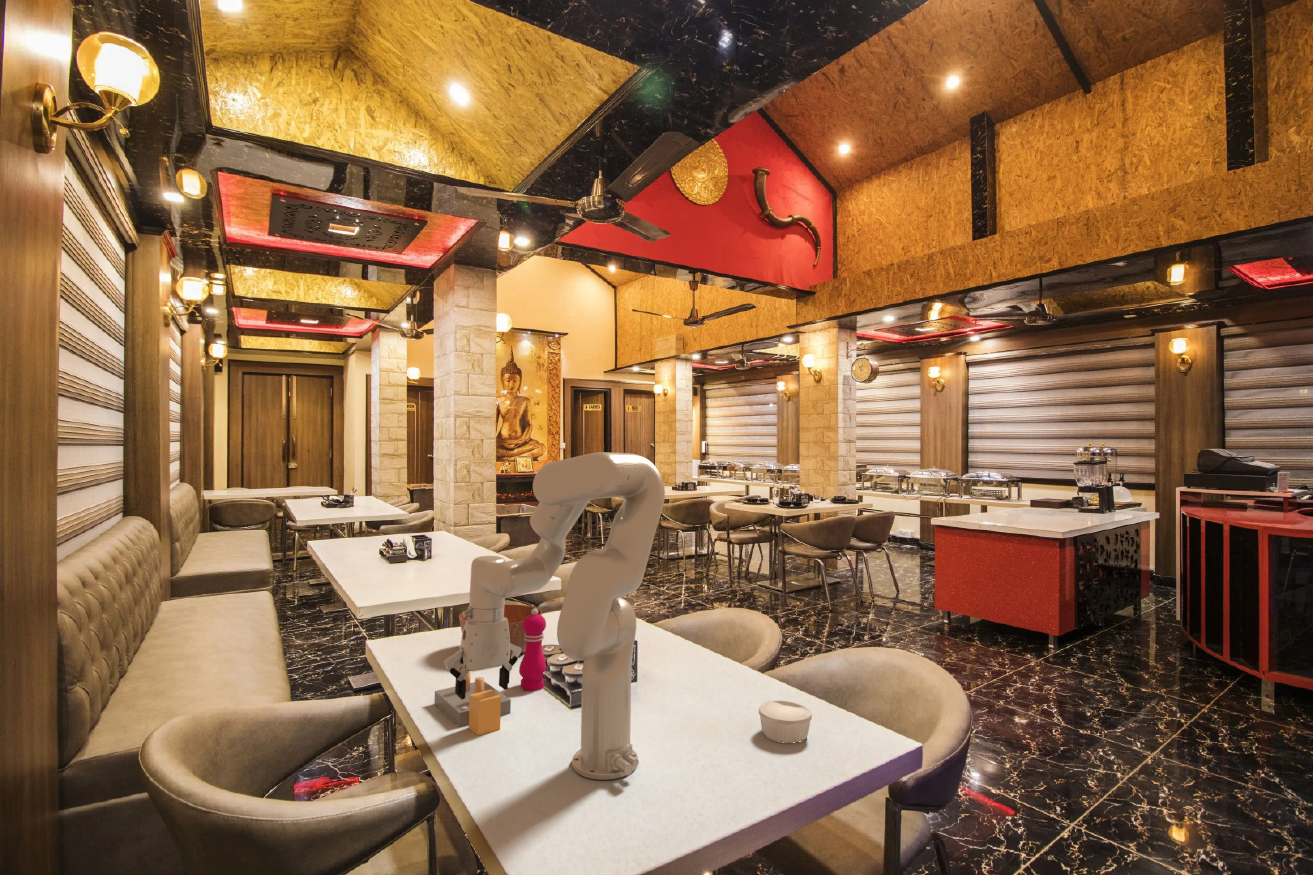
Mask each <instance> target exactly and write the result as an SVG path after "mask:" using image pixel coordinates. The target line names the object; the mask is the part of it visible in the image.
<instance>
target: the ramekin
mask: <svg viewBox="0 0 1313 875" xmlns="http://www.w3.org/2000/svg"><path fill="white" fill-rule="evenodd" d="M758 714H759V717H760V718H759V719H760V727H761V731H762V732H763V734H764V735H765V737H766V738H767V739H769V738H770V739H769V740H771V739H772V740H771V741H773V740H775V741H774V742H776V741H779V742H778V743H780V742H784V743H783V744H787V743H793V742H799V741H802V740H803V741H805V740H806V739H807V737H808V734H809V731H810V730H809V729H810V724H811V720H812V718H813V716H812V715H813V713H812V711H811V709H809V708H808V707H807V706H805V705H803V704H800V703H797V702H793V701H788V700H780V699H779V700H778V699H777V700H770V701H766V702H763V703H761V704H760V705H759V706H758ZM804 739H805V740H804ZM803 741H802V742H803ZM799 743H800V742H799Z"/></svg>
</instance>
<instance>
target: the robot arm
mask: <svg viewBox="0 0 1313 875" xmlns="http://www.w3.org/2000/svg"><path fill="white" fill-rule="evenodd" d="M532 490H533V491H532V492H533V495H534V497H535V498H536V500H537V501H538V502H539V503H538V505H537V506H536V508H535V509H534V510H533V512H532V513H531V516H530V517H529V523H530V526H531V528H532V529H533V531H534V532H535V533H536V534H537V535H538V536H539V537H540V540H539V541H538V544H537V545H536V547H535V548H534V550H533V552H531V554H530V555H529V556H528V557H523V558H517V559H512V560H508V561H507V560H506V559H505V558H504V557H501V556H497V555H483V556H478V557H475V558H474V559H473V560H472V562H471V568H470V582H469V584H470V586H469V587H470V588H469V602H468V604H469V605H468V607H467V609H466V610H463V611H462V612H463V617H467V618H468V619H469V620H466V622H465V625H464V629H463V633H462V632H461V634H462V635H461V640H460V647H459V649H458V650H457V651H456V652H454V653H453V654H452V655H450V656H448V657H447V658H445V659H444V660H443V663H444V665H445V667H446V669H447V671H448V673H449V674H451V675H452V676H453V677H454V678H455V684H454V685H455V686H454V687H455V693H456V695H457V696H458V697H459V698H460V699H464V698H465V694H466V680H465V679H464V678H465V676H466V675H467V674H468V672H469V671H471V672H477V671H483V670H487V669H492V668H498V667H500V668H499V672H498V673H499V674H498V675H499V677H498V686H499V687H500V688H501V689H503V690H504V691H505V690H508V688H509V687H508V686H509V684H510V675H511V671H512V670H513V667H514V665H515V664H516V663H517V662H518V658H519V657H520V655H521V654H520V653H521V650H522V648H521V647H519V646H517V645H514V644H512V643H510V634H509V625H508V619H507V618H505V617H504V606H505V605H506V604H505V603H506V599H509V598H514V597H517V596H521V595H524V594H527V593H532V592H535V591H539V590H540V589H542V588H544V587H545V586H546V585H547V584H548V583H549V582H550V581H551V579H552V578H553V576H554V575H555V574H556V573H557V571H558V569H559V567H560V566H561V564H562V562H563V561H564V557H565V555H566V554H565V553H566V547H567V546H566V545H567V542H566V538H567V536H568V535H569V533H570V532H571V530H572V529H573V527H574V526H575V524H576V523H577V521H578V519H579V518H580V516H581V515H582V514H583V512H584V511H585V509H586V508H587V506H588V504H589V503H590V502H591V501H593V500H598V499H610V498H623V501H622V504H621V505H620V507H619V509H618V510H617V512H616V514H615V515H614V518H613V520H612V523H611V528H610V532H609V533H608V538H607V541H606V543H605V545H604V546H603V548H600V549H595V550H591V551H589V552H587V553H584V555H582V556H581V557H580V558H579V559H578V561H577V562H576V563H575V565H574V567H573V568H572V570H571V573H570V576H569V580H568V583H567V587H566V590H565V594H564V598H563V602H562V604H561V605H562V606H561V608H560V613H559V617H558V621H557V626H556V636H557V642H558V646H559V647H560V649H561V650H560V651H562V653H563V654H564V655H565V656H566V657H567V658H569V659H570V660H574V661H583V664H582V673H581V674H582V675H581V677H582V678H581V710H580V711H581V712H580V713H581V717H580V718H581V719H580V720H581V721H580V722H581V723H580V749H579V750H578V751H575V753H574V754H573V755H572V756H573V757H572V758H571V759H572V761H571V762H572V763H571V764H572V768H573V770H574V771H575V772H576V773H577V774H579V775H580V776H581V777H584V778H587V779H591V780H598V781H599V780H600V781H607V780H608V781H609V780H615V779H620V778H623V777H625V776H630V775H631V774H632V772H633V771H634V770H636V768H637V767H638V766H639V763H640V761H639V756H638V753H637V752H636V751H635V750H634V749H633V744H632V743H631V712H632V711H631V710H632V709H631V708H632V706H631V705H632V667H633V666H632V662H633V652H634V646H635V640H636V633H637V617H636V615H637V614H636V612H635V610H634V608H633V606H632V605H631V604H630V602H629V601H627V600H626V599H625V598H623V597H625V596H627V595H629V594H632V593H634V592H635V591H637V590H638V588H639V587H640V586H641V585H642V582H643V579H644V577H645V573H646V568H647V565H648V561H649V558H650V555H651V551H652V546H653V543H654V539H655V534H656V532H657V527H658V524H659V522H660V519H661V515H662V513H663V512H662V511H663V508H664V504H665V499H666V497H665V496H666V495H665V493H666V491H665V483H664V480H663V477H662V474H661V472H660V471H659V469H658V468H657V467H656V465H655V464H654V463H653V462H652V461H650V460H649V459H648V458H646V457H644V456H643V455H639V454H635V453H632V452H631V453H627V452H606V451H605V452H604V451H601V452H591V453H587V454H582V455H578V456H577V455H576V456H573V457H569V458H565V459H561V460H555V461H549V462H548V463H546V464H544V465H543V466H541V467H540V469H538V471H537V473H536V474H535V475H534V478H533V482H532ZM510 650H512V651H513V653H512V655H511V656H510ZM457 661H459V664H460V665H459V666H458V667H457V669H456V667H455V665H454V664H455V662H457Z"/></svg>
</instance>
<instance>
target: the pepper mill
mask: <svg viewBox="0 0 1313 875" xmlns="http://www.w3.org/2000/svg"><path fill="white" fill-rule="evenodd" d="M535 608H536V607H535ZM535 608H534V609H532V611H531V613H532V615H529V616H527V617H526V618H525V619H524V621H523V630H524V631H525V632H526V633H525V634H524V636H525V638H524V639H525V640H526V651H525V652H524V653H523V657H522V659H521V661H520V664H519V667H518V669H519V670H518V672H519V675H520V676H521V677H522V678H520V688H521V690H523V689H524V690H523V691H527V690H528V691H529V692H531V691H532V692H535V691H539V689H540V690H542V689H544V688H545V687H544V681H543V680H542V678H543V672H544V671H545V669H546V663H545V662H547V660H546V661H545V659H546V658H545V657H546V656H545V655H544V652H543V644H542V643H543V641H544V639H545V637H544V636H545V633H544V631H545V630H546V628H547V621H546V618H545V617H544V616H543V615H542V616H541V615H539V614H538V610H537V609H535ZM543 687H544V688H543ZM534 690H535V691H534Z"/></svg>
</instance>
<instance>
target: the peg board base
mask: <svg viewBox="0 0 1313 875" xmlns="http://www.w3.org/2000/svg"><path fill="white" fill-rule="evenodd" d="M471 672H472V671H469V672H468V674H467V675H466V676H465V678H464V679H465V680H466V694H465V698H464V699H460V698H459V697H458V696H457V695H456V693H455V686H452V687H447V688H442V689H437V690H434V705H435V706H436V707H437V706H438V707H437V708H438V709H439V708H440V709H439V710H440V711H441V712H442V713H444V715H446V716H447V717H448V718H449V719H450V720H451V721H453V723H455V724H456V726H458V727H459V728H460V727H463V726H464V727H465V726H469V701H470V695H471V694H475V693H479V692H483V691H488V690H493V691H494V692H495V693H497V694H498V695H500V696H501V713H500V717H501V716H505V715H508V714H511V708H512V707H511V703H512V701H511V698H509V697H508V696H506V695H505V694H503V693H502V692H500V691H499V690H497V689H495V687H493V686H492V685H490V684H489V683H487V682H486V681H485V677H483V676H478V677H475V678H474V682H471Z"/></svg>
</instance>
